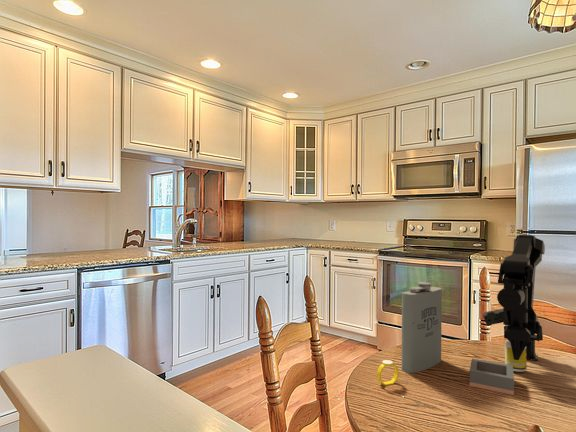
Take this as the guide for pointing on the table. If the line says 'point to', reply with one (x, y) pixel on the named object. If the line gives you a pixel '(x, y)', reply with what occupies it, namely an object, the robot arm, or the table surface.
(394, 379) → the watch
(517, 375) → the table surface
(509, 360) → the supplement bottle
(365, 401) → the table surface
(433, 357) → the flask
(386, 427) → the table surface
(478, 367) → the socket block
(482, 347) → the table surface
